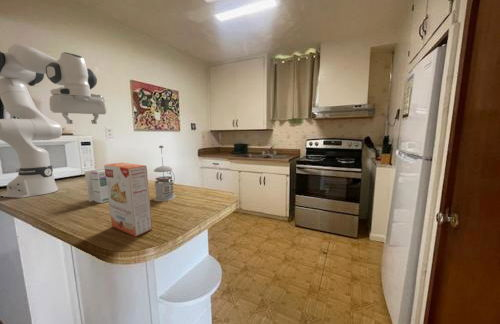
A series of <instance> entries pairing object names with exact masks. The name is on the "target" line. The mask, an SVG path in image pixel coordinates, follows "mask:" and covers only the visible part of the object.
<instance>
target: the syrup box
mask: <svg viewBox="0 0 500 324" xmlns="http://www.w3.org/2000/svg"><path fill="white" fill-rule="evenodd" d="M101 169H102V170H96V169H94V170H95V171H91V177H92V184H93V191H94V198H95V200H94V202H95V203H99V204H103V203H107V202H109V199H108V191H107V183H106V175H105V169H103V168H101Z"/></svg>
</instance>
